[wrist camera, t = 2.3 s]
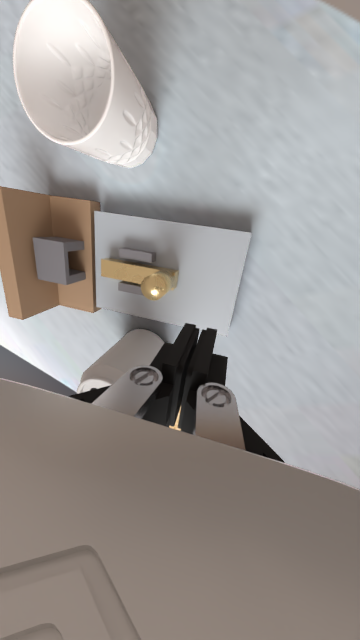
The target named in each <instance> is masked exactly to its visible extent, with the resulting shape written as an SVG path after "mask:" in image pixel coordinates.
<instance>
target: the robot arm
mask: <svg viewBox="0 0 360 640" xmlns="http://www.w3.org/2000/svg"><path fill="white" fill-rule="evenodd" d="M216 334H217V329H212V328H208V327H207V329H206V330H204V329H202V332H201V335H200V337H199V340H198V335H199V328H196V325H194V324H189V323H185V325H184V327H183V328H182V330H181V332H180V334H179V335H178V337H177V339H176V340H175V342H174V344H170V343H166V342H165V343H164V344H163V346H162V347H161V349H160V350H159V352H158V353H157V355H156V356H155V358H154V359H153V361H152V362H151V364H150V365H149V366H148V365H140V366H136V367H133V368H131V369H130V370H128V371H127V372H126V373H125V374H124V375H123V376H122V377H120V378H119V379H118V380H117V381H116V382H115V383H114V384H113V385H110V386H106V387H102V388H98V389H94V390H90V391H86V392H82V393H79V394H75V395H71V396H68V397H67V396H64V395H60V394H57V393H53V392H50V391H47V390H43V389H40V388H37V387H33V386H30V385H26V384H22V383H18V382H14V381H10V380H6V379H1V378H0V640H360V489H358V488H355V487H353V486H350V485H348V484H346V483H343V482H340V481H337V480H334V479H331V478H328V477H325V476H322V475H320V474H317V473H314V472H311V471H308V470H305V469H302V468H299V467H296V466H292V465H289V464H286V463H285V462H284V461H283V460H282V459H281V458H280V457H279V456H278V455H277V454H276V453H275V452H274V451H273V450H272V449H271V448H270V447H269V445H268V444H267V443H266V442H265V441H264V440H263V439H262V438H261V437H260V436H259V435H258V434H257V433H256V432H255V431H254V430H253V429H252V428H251V427H250V426H249V425H248V424H247V423H246V422H245V421H244V420H243V419H242V418H241V417H240V416H239V413H238V407H237V402H236V398H235V395H234V394H233V392H232V391H231V390H230V389H228V388H227V387H225V380H226V369H227V359H228V357H225V356H221V355H217V354H212V353H213V348H214V343H215V339H216ZM197 340H198V343H197ZM180 407H181V410H180ZM179 410H180V416H179V422H178V428H179V429H181V431H179V430H176V429H172V428H169V426H173V427H174V425H175V422H176V419H177V416H178V413H179Z"/></svg>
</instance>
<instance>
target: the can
mask: <svg viewBox="0 0 360 640" xmlns="http://www.w3.org/2000/svg"><path fill="white" fill-rule="evenodd" d="M163 344H164V341H163V340H162V339H161V338H160V337H159V336H158V335H156V334H155V333H153V332H151V331H148V330H145V329H135V330H133V331H130V332H128V333H127V334H126V335H125V336H124V337H123V338H122V339H121V340H119V341H118V342H117V343H116V344H115V345H114V346H113V347H112V348H110V349H109V350H108V351H107V352H106V353H105V354H104V355H103V356H101V357H100V358H99V359H98V360H97V361H96V362H95V363H94V364H92V365H91V366H90V367H89V368H88V369H87V370H86V371H85V372H84V373H83V375H82V377H81V383H80V384H79V386H78V389H77V394H79V393H82V392H86V391H90V390H94V389H98V388H102V387H106V386H110V385H113V384H114V383H115V382H116V381H117V380H118V379H119V378H120V377H122V376H123V375H124V374H125V373H126V372H127V371H128V370H130V369H131V368H133V367H136V366H140V365H148V366H149V365H150V364H151V362H152V361H153V359H154V358H155V356H156V355H157V353H158V352H159V350H160V349H161V347H162V346H163Z"/></svg>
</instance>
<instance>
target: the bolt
mask: <svg viewBox="0 0 360 640" xmlns="http://www.w3.org/2000/svg"><path fill="white" fill-rule="evenodd" d="M178 274H179V270H174V269H168V268H163V267H157V266H152V265H146V264H141V263H135V262H130V261H124V260H119V259H113V258H104V259H101V276H103V277H108V278H113V279H118V280H123V281H128V282H133V283H138V284H141V291H142V294H143V295H144V296H145V297H146V298H147V299H149V300H152V301H155V300H159V299H160V298H161V297H163V296H164V295H165V294H166V293H168V292H169V291H170V290H174V289H175V288H177V282H178Z"/></svg>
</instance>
